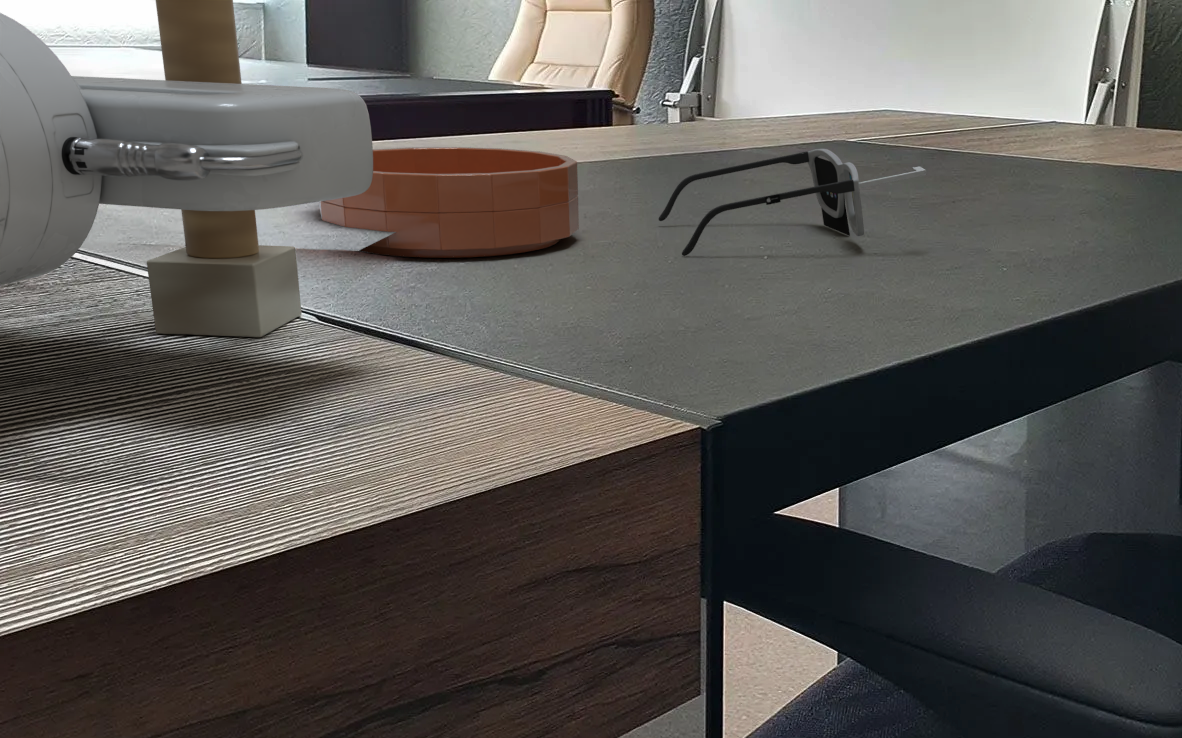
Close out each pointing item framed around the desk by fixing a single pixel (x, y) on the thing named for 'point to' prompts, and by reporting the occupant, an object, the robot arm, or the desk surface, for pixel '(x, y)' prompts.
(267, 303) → the brush
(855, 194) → the smart glasses
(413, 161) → the bowl
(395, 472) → the desk surface
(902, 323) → the desk surface
